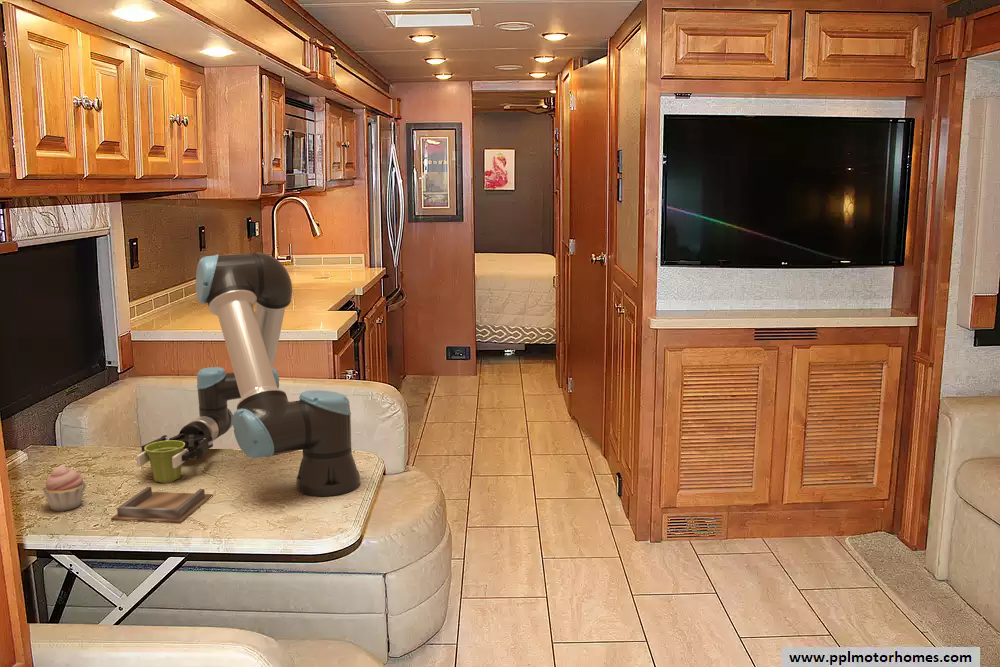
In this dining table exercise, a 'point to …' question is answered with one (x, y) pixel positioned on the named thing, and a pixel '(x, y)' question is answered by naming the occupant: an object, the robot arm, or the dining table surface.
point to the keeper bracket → (161, 506)
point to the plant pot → (164, 459)
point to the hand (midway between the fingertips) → (156, 462)
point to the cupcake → (64, 489)
